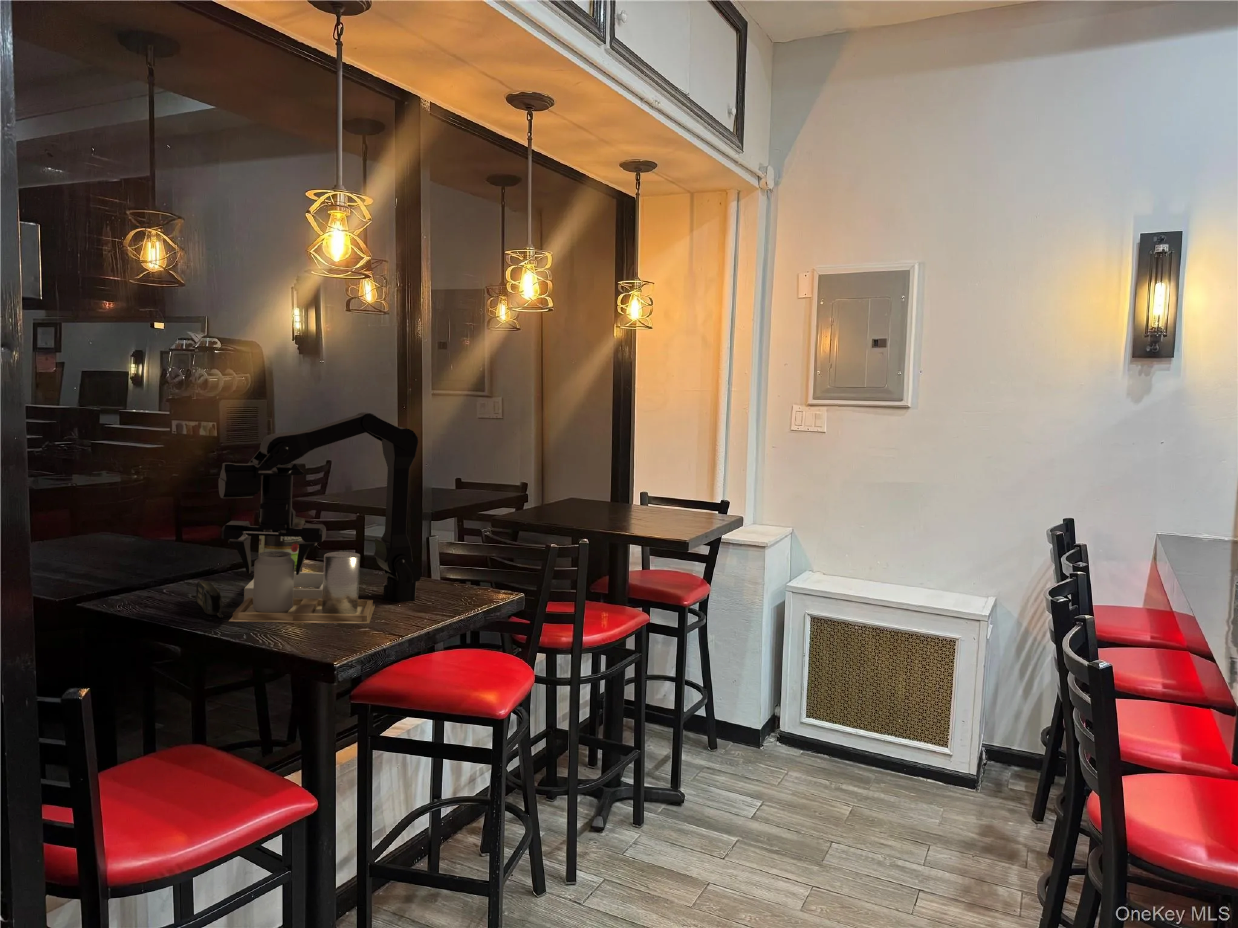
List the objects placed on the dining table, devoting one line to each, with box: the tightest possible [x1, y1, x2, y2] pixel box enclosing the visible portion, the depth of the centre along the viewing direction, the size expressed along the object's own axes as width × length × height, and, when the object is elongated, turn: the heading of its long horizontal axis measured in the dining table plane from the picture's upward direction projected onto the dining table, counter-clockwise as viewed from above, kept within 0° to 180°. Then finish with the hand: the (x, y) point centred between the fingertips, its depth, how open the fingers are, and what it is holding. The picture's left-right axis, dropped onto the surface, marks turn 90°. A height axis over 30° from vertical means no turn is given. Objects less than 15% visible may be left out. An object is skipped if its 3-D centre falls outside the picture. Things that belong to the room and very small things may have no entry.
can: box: [253, 551, 295, 613], centre depth 163 cm, size 8×8×12 cm
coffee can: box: [258, 516, 306, 572], centre depth 197 cm, size 10×10×14 cm
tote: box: [243, 571, 323, 602], centre depth 179 cm, size 16×16×4 cm
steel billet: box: [322, 551, 361, 614], centre depth 166 cm, size 7×7×12 cm
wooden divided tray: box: [228, 597, 376, 624], centre depth 165 cm, size 26×14×3 cm, turn 102°
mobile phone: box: [195, 580, 224, 619], centre depth 166 cm, size 5×3×15 cm
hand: (273, 573), depth 163 cm, fingers open, 9 cm apart
